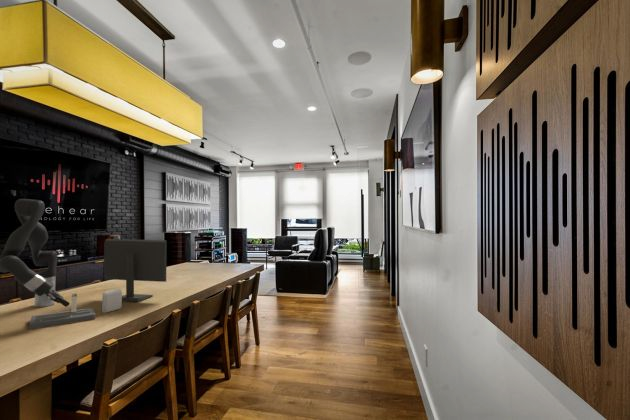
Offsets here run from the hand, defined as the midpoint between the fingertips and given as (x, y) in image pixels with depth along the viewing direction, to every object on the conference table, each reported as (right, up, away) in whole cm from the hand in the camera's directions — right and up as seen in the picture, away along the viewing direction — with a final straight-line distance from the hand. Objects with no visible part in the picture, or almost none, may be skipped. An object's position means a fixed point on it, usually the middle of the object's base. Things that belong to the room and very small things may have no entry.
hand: (68, 305), depth 164 cm
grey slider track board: (-1, -7, -1) cm, 8 cm away
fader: (+2, -5, +1) cm, 5 cm away
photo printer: (+12, -9, +17) cm, 22 cm away
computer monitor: (+9, -9, +43) cm, 45 cm away
